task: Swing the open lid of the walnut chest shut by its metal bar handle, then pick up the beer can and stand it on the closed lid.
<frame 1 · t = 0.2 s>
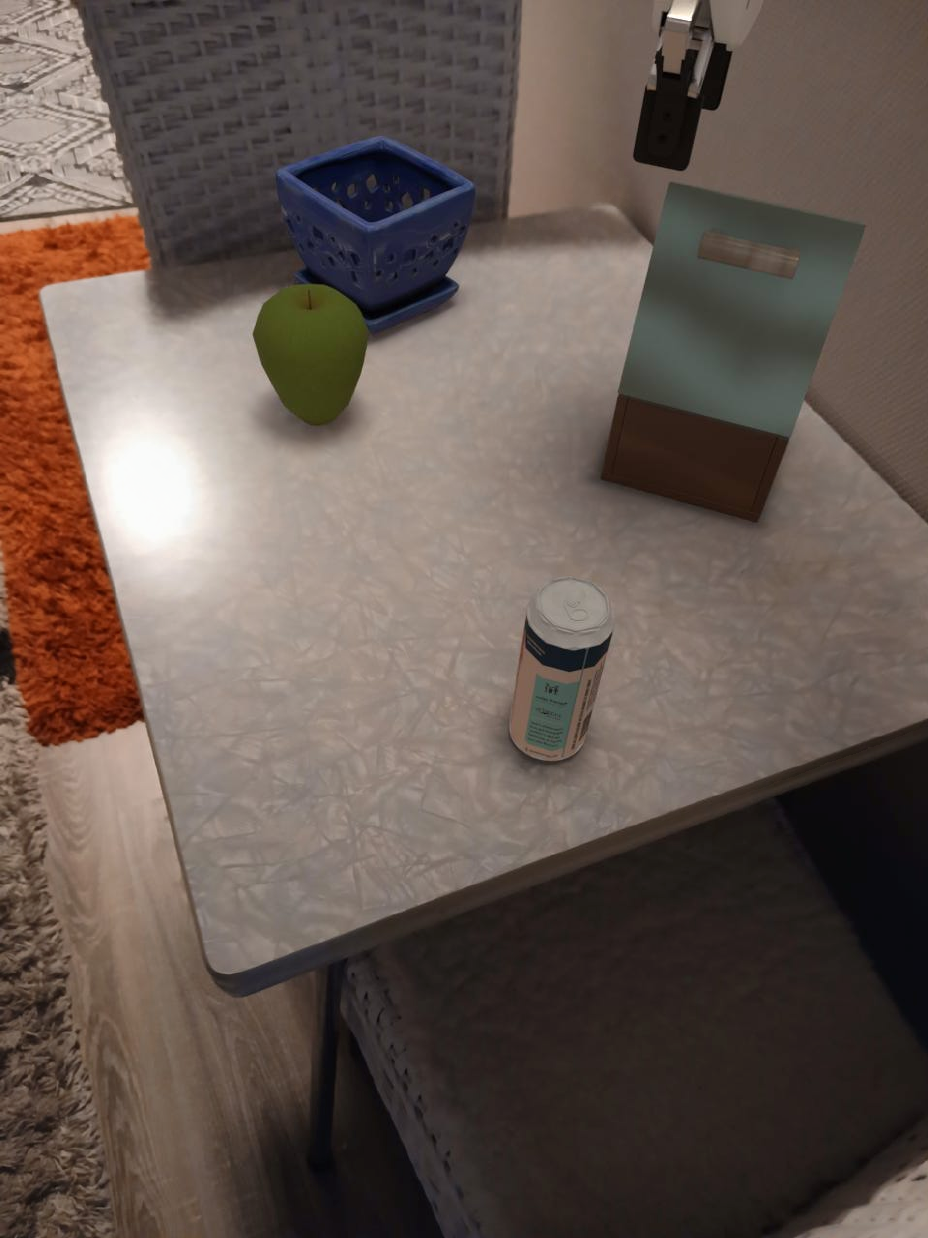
hand: (677, 133, 59), 26 cm above the table, tool pointing down, fingers open, 9 cm apart
lid: (729, 322, 64), point 16 cm above the table, hinge at 75.0°
flower pot: (377, 301, 93), on the table
chest: (694, 450, 80), on the table
beer can: (545, 735, 61), on the table
apple: (317, 419, 81), on the table
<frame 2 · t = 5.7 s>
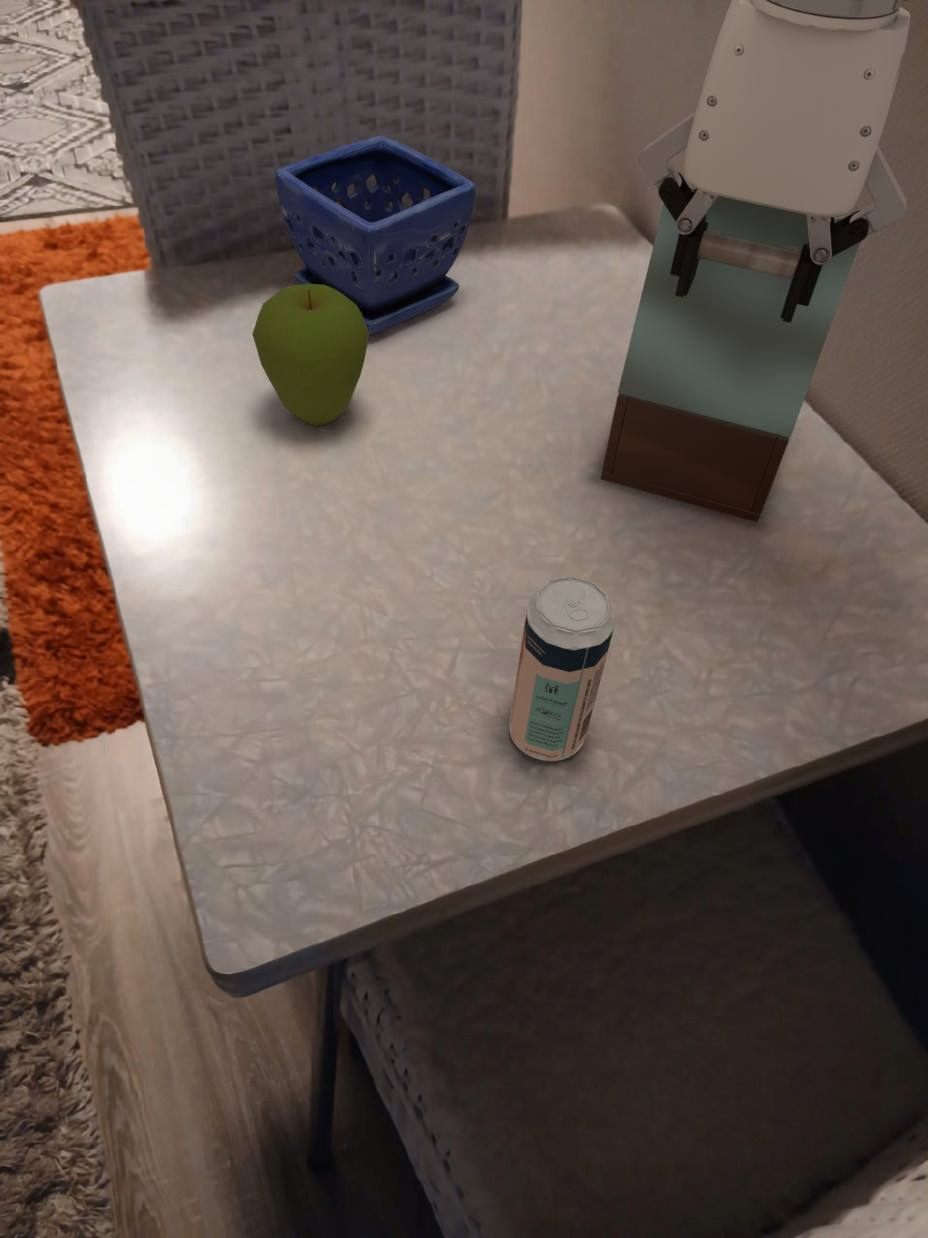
hand: (736, 296, 62), 18 cm above the table, tool pointing down, fingers closed on lid, 6 cm apart
lid: (729, 322, 64), point 16 cm above the table, hinge at 75.0°, touching gripper
everything else where it was.
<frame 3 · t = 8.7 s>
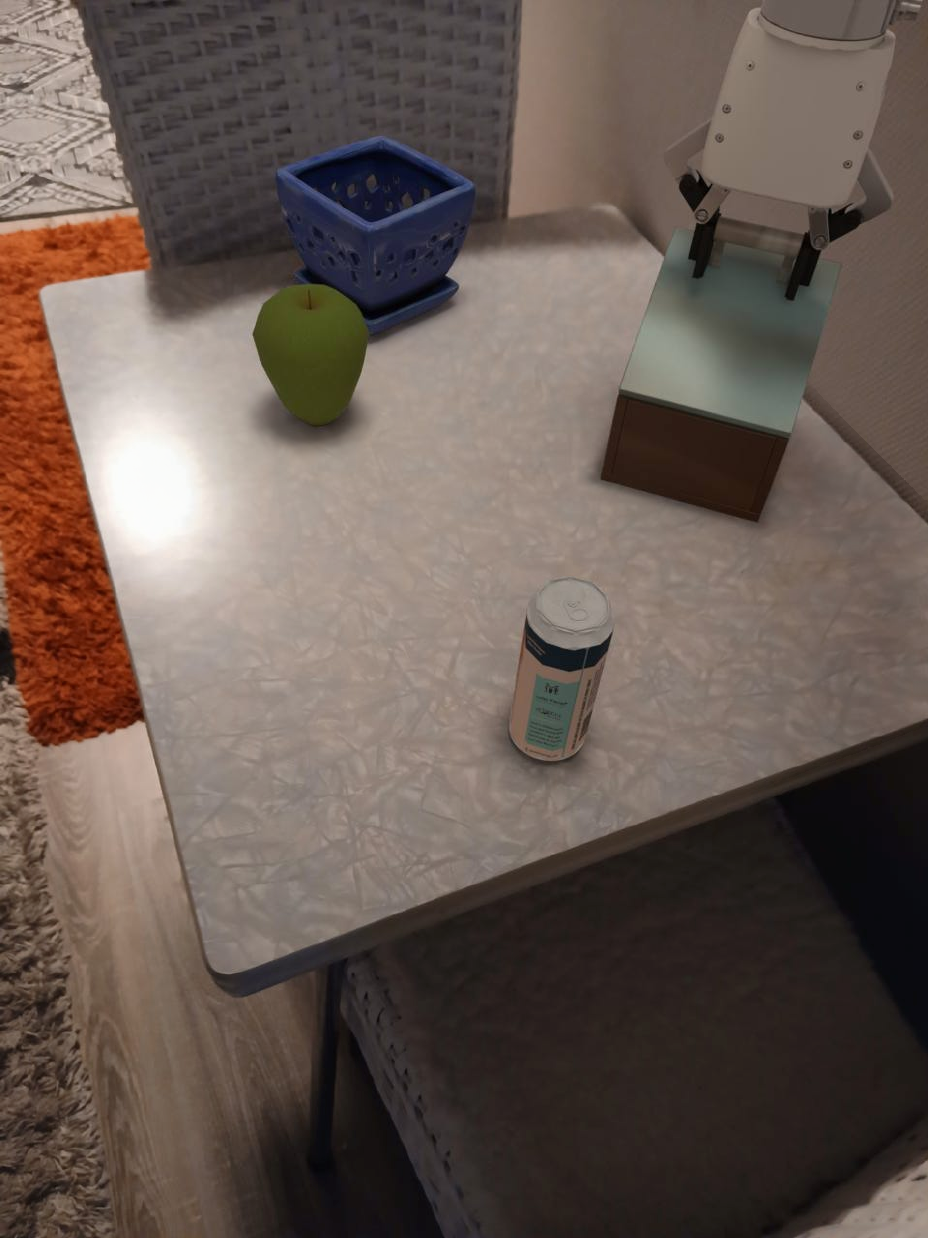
hand: (745, 278, 71), 14 cm above the table, tool pointing down, fingers closed on lid, 6 cm apart
lid: (735, 309, 69), point 14 cm above the table, hinge at 27.5°, touching gripper
everything else where it was.
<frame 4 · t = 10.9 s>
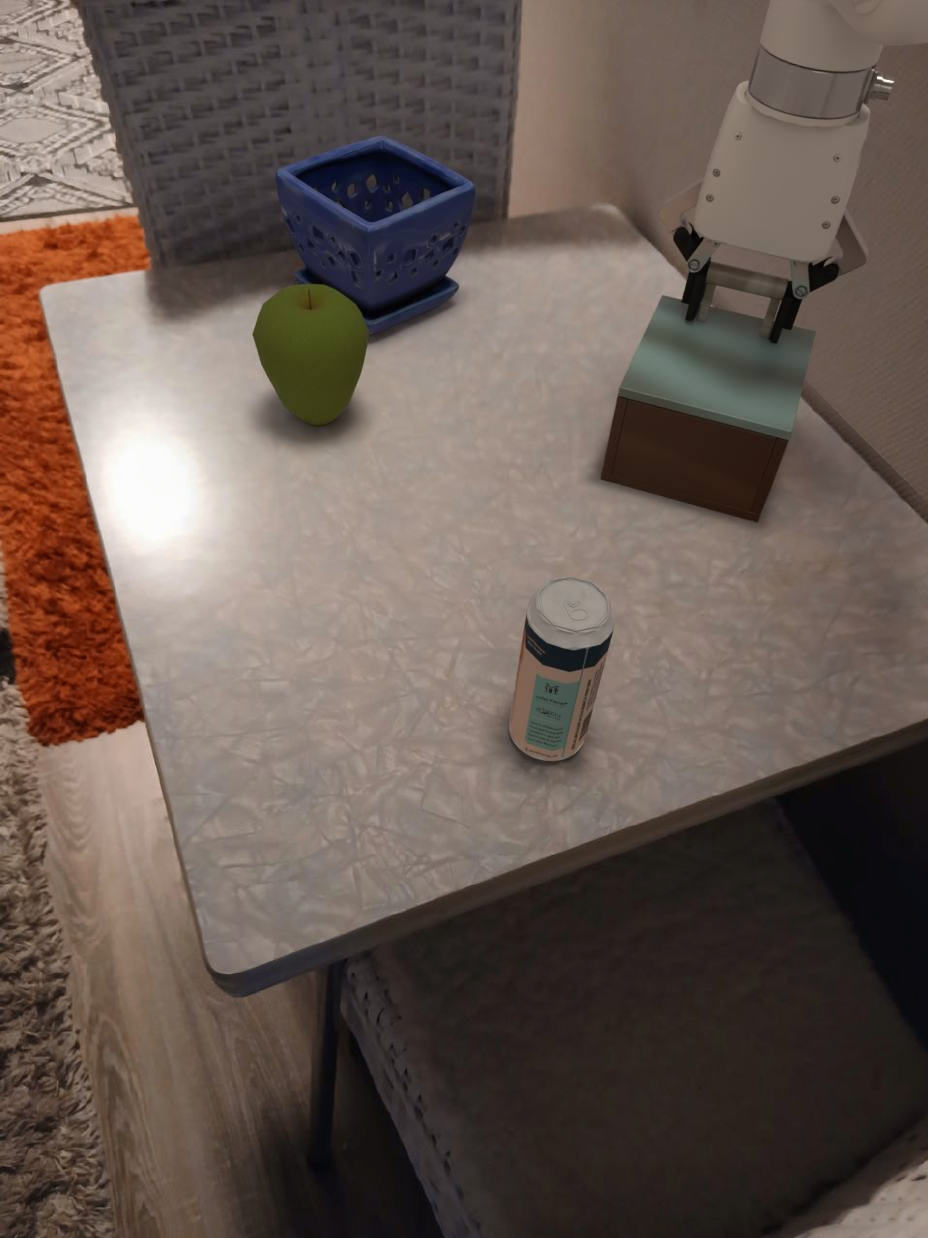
hand: (734, 320, 77), 9 cm above the table, tool pointing down, fingers closed on lid, 6 cm apart
lid: (729, 334, 73), point 11 cm above the table, hinge at -0.2°, touching chest, gripper
everything else where it was.
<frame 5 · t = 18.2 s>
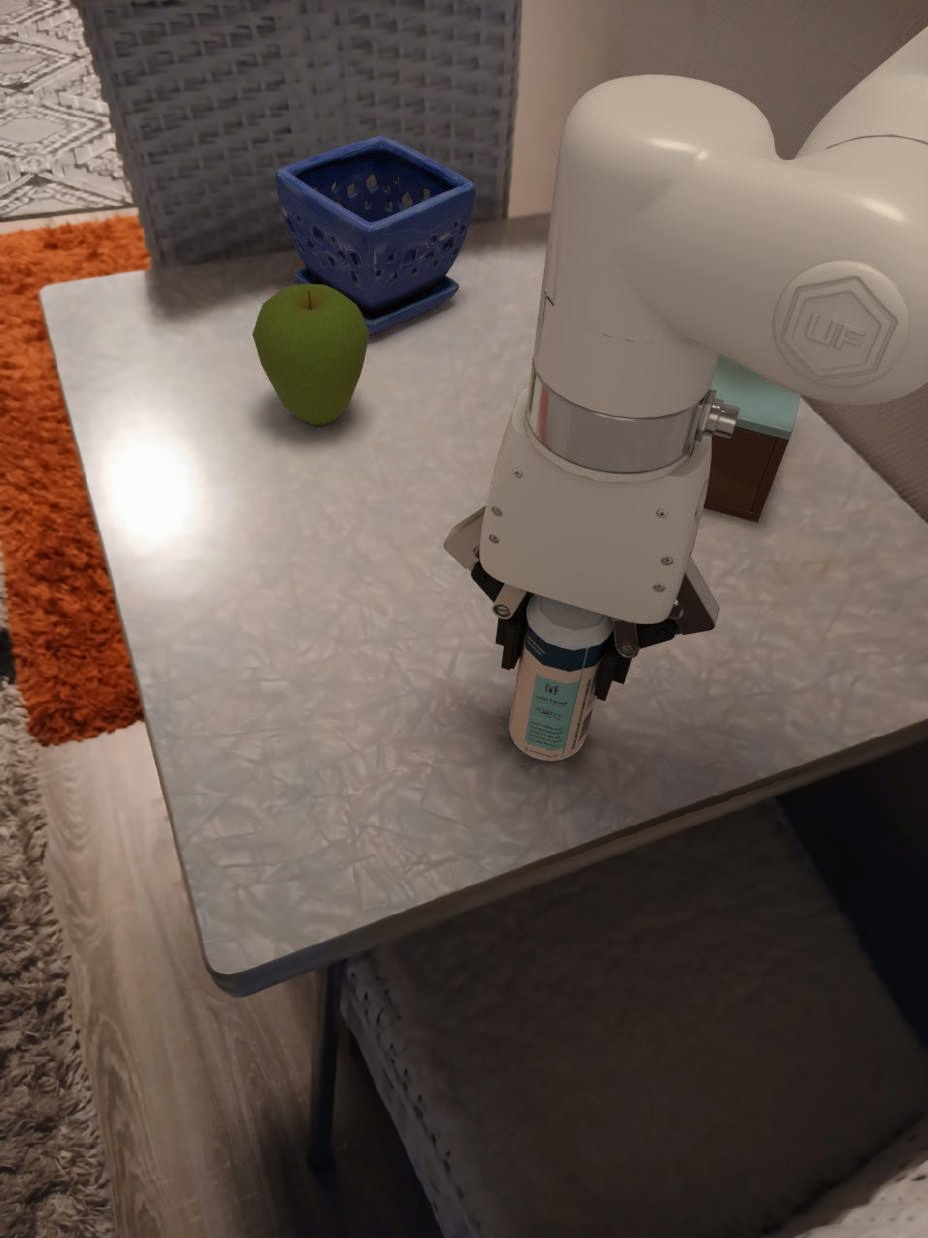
hand: (560, 664, 56), 7 cm above the table, tool pointing down, fingers closed on beer can, 4 cm apart
lid: (729, 334, 73), point 11 cm above the table, hinge at -0.2°, touching chest
beer can: (545, 735, 61), on the table, touching gripper
everything else where it was.
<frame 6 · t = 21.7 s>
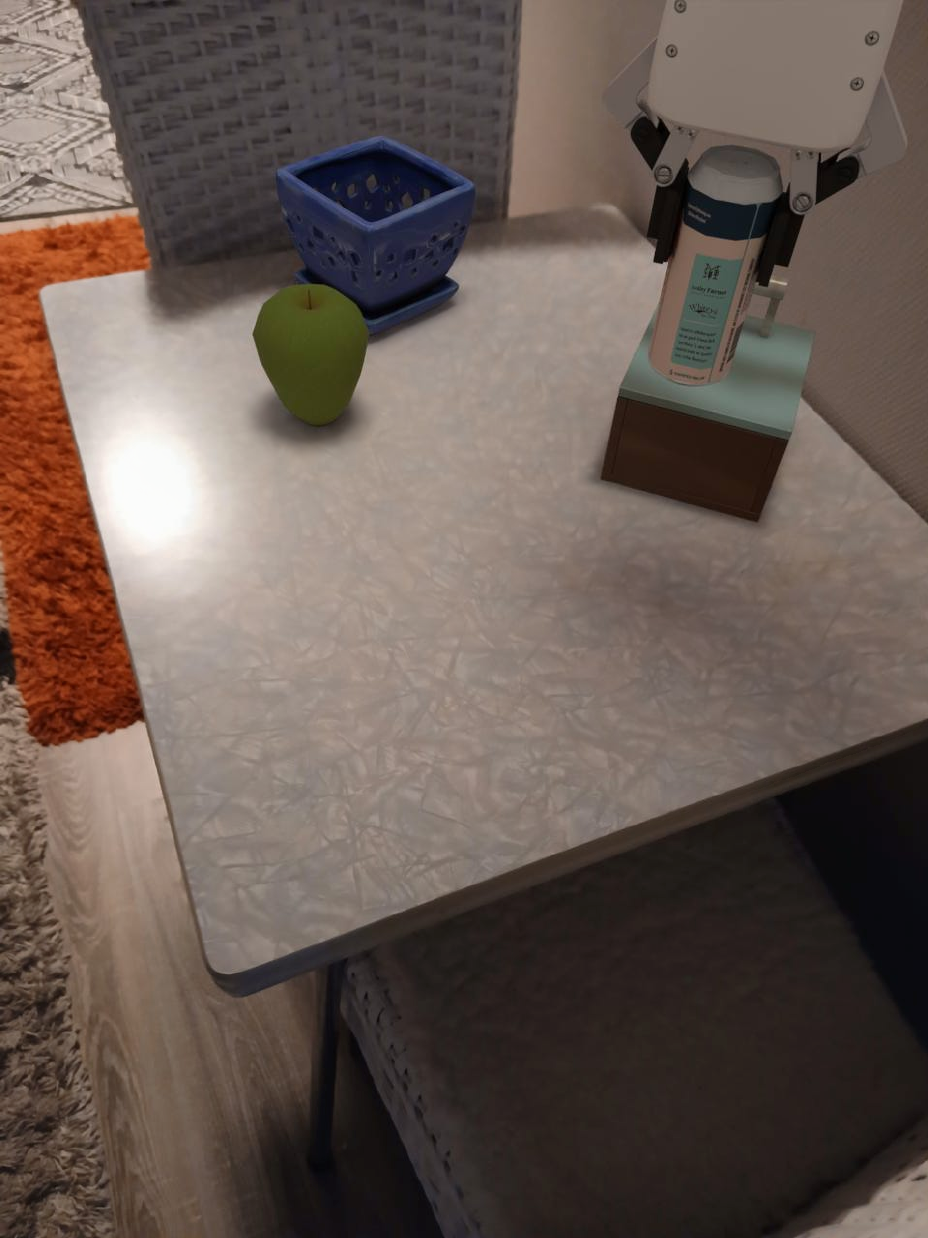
hand: (714, 259, 52), 24 cm above the table, tool pointing down, fingers closed on beer can, 4 cm apart
beer can: (685, 371, 57), point 17 cm above the table, touching gripper
everything else where it was.
when the fingers open (15 cm above the table, at t = 25.4 s): beer can stays where it is, resting on lid.
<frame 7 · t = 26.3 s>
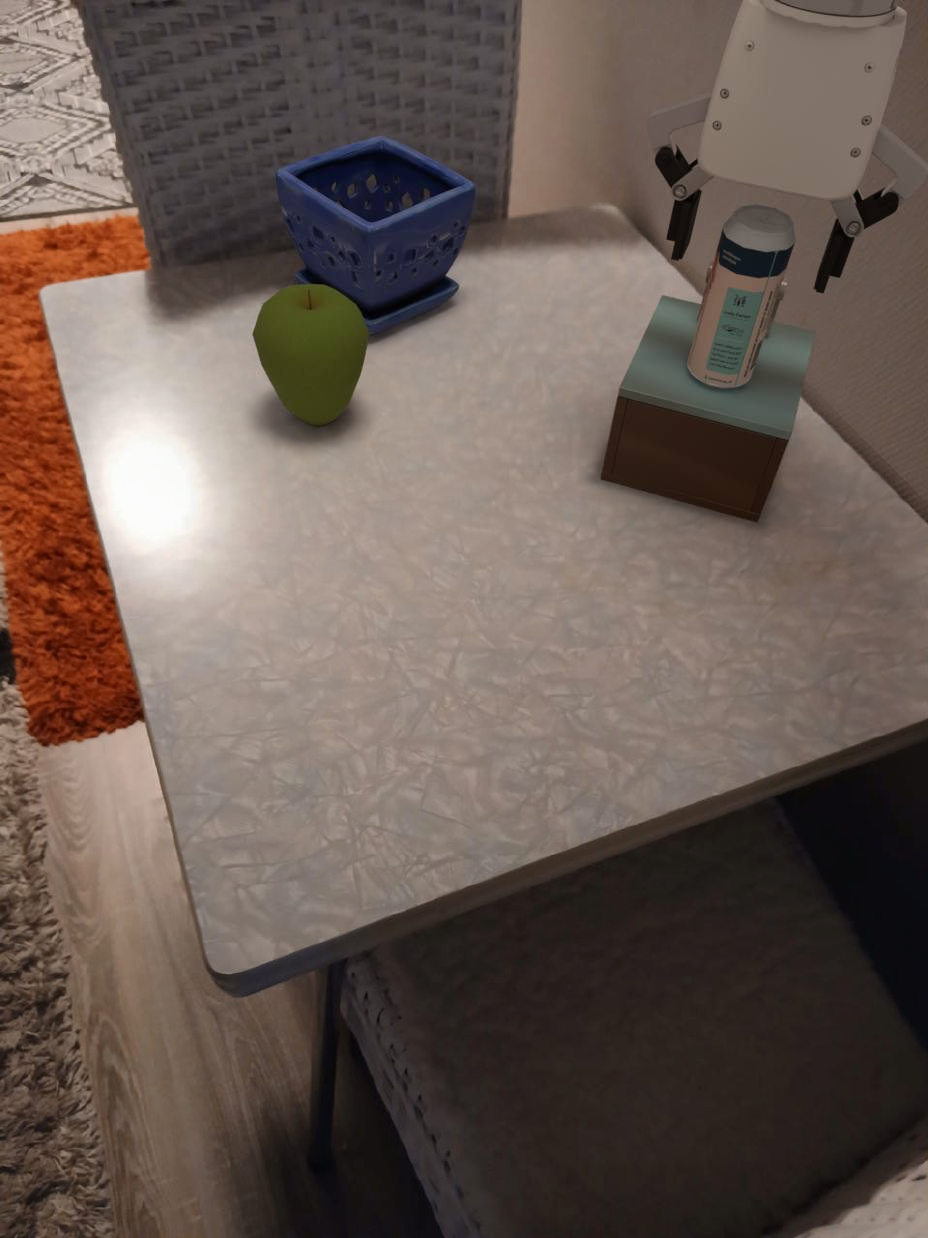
hand: (749, 267, 66), 17 cm above the table, tool pointing down, fingers open, 9 cm apart
lid: (729, 334, 73), point 11 cm above the table, hinge at -0.2°, touching beer can, chest
beer can: (716, 376, 73), point 8 cm above the table, touching lid
everything else where it was.
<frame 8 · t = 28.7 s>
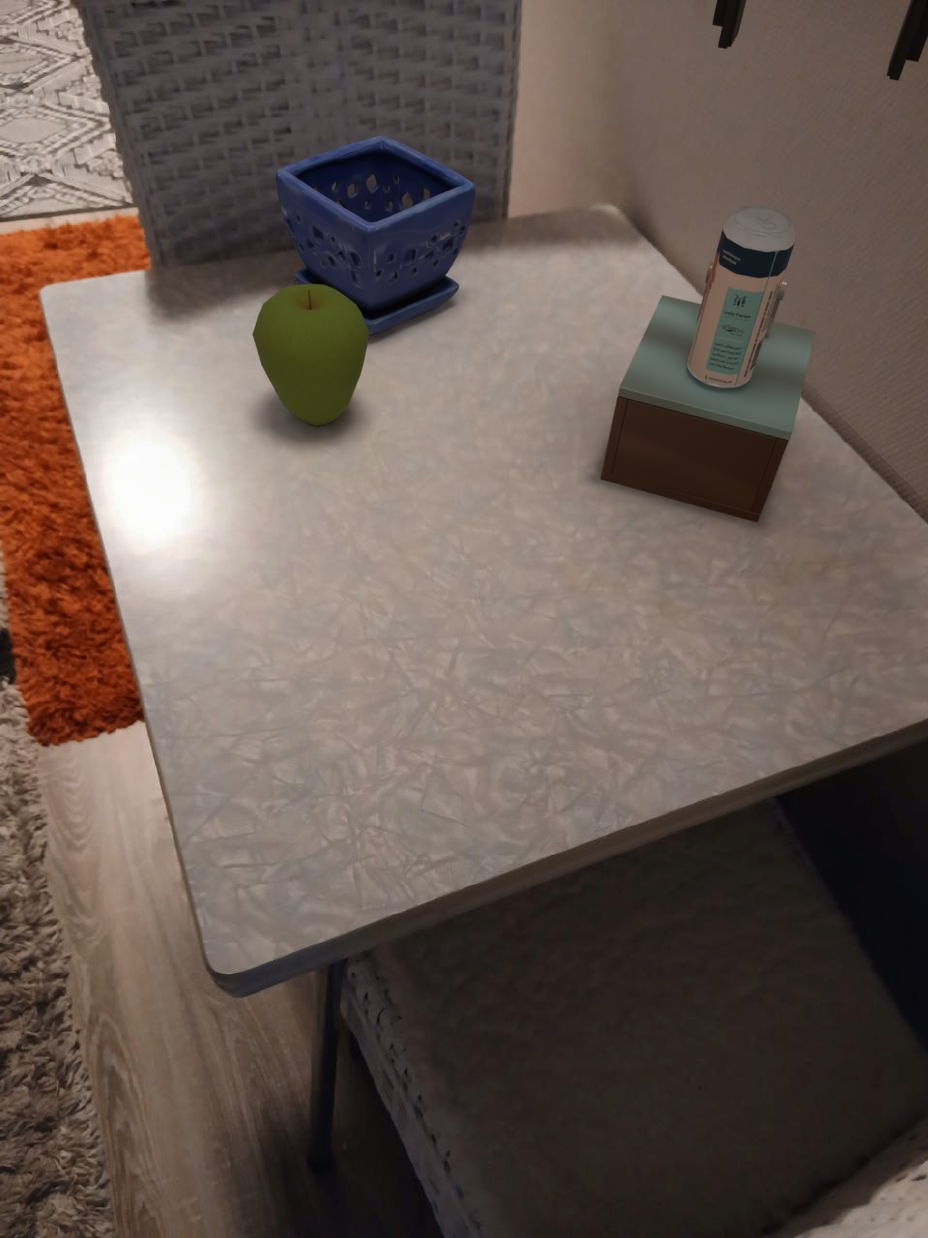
hand: (809, 56, 57), 30 cm above the table, tool pointing down, fingers open, 9 cm apart
nothing on the table moved.
at the end: lid at +0° (first picture: +75°); beer can inside the target area on the chest (0.6 cm from its centre), point 8.4 cm above the chest's base; beer can tilted 0° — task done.
